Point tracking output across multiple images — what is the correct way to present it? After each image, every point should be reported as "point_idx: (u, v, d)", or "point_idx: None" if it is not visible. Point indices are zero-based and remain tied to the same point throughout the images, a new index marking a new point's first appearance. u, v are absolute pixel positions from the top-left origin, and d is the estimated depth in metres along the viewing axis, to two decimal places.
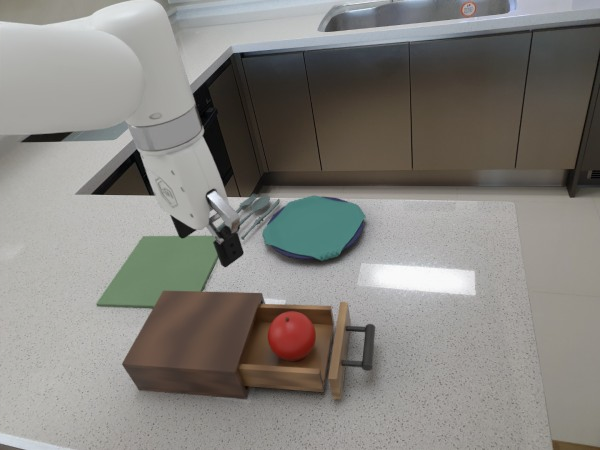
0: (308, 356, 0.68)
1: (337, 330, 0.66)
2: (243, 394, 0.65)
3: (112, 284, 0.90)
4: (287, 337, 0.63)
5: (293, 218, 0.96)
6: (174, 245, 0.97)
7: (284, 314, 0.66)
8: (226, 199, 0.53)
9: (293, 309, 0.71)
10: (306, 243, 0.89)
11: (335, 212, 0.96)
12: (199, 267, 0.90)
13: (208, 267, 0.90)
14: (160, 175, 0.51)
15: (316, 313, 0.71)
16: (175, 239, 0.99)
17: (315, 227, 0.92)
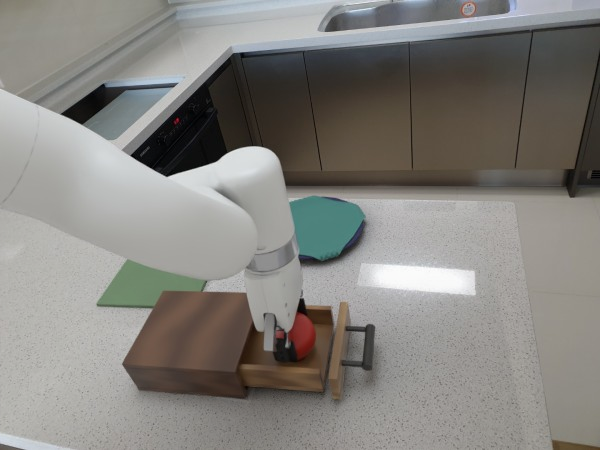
0: (308, 356, 0.68)
1: (337, 330, 0.66)
2: (243, 394, 0.65)
3: (112, 284, 0.90)
4: None
5: (293, 218, 0.96)
6: None
7: None
8: (285, 324, 0.57)
9: None
10: (306, 243, 0.89)
11: (335, 212, 0.96)
12: None
13: None
14: None
15: (316, 313, 0.71)
16: None
17: (315, 227, 0.92)
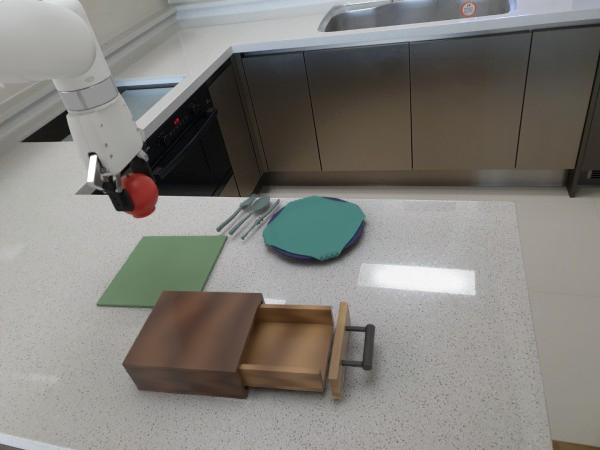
0: (308, 356, 0.68)
1: (337, 330, 0.66)
2: (243, 394, 0.65)
3: (112, 284, 0.90)
4: None
5: (293, 218, 0.96)
6: (174, 245, 0.97)
7: None
8: (108, 164, 0.67)
9: (293, 309, 0.71)
10: (306, 243, 0.89)
11: (335, 212, 0.96)
12: (199, 267, 0.90)
13: (208, 267, 0.90)
14: None
15: (316, 313, 0.71)
16: (175, 239, 0.99)
17: (315, 227, 0.92)
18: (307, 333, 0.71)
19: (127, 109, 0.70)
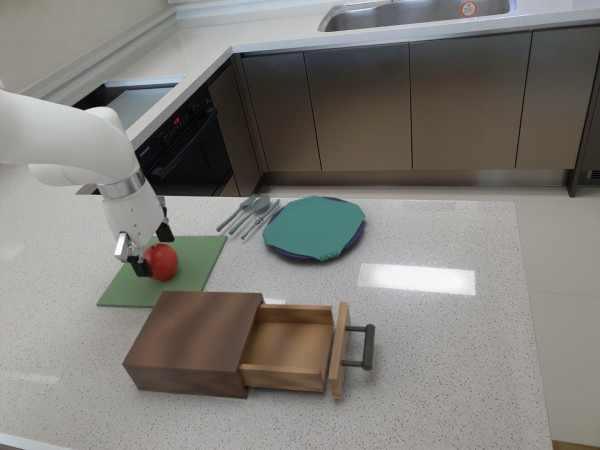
0: (308, 356, 0.68)
1: (337, 330, 0.66)
2: (243, 394, 0.65)
3: (112, 284, 0.90)
4: (151, 260, 0.84)
5: (293, 218, 0.96)
6: (174, 245, 0.97)
7: None
8: (136, 241, 0.78)
9: (293, 309, 0.71)
10: (306, 243, 0.89)
11: (335, 212, 0.96)
12: (199, 267, 0.90)
13: (208, 267, 0.90)
14: None
15: (316, 313, 0.71)
16: (175, 239, 0.99)
17: (315, 227, 0.92)
18: (307, 333, 0.71)
19: (151, 190, 0.82)
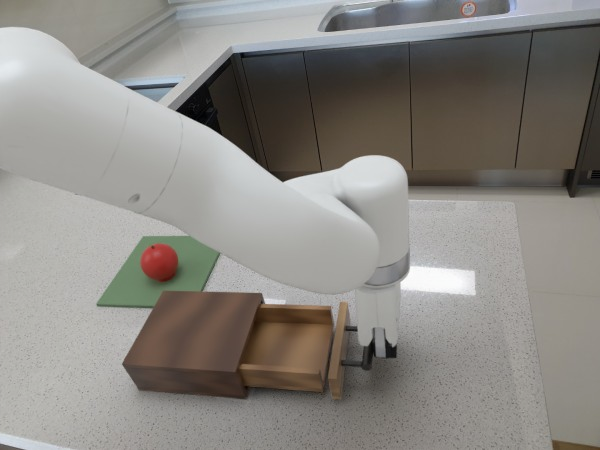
0: (308, 356, 0.68)
1: (337, 330, 0.66)
2: (243, 394, 0.65)
3: (112, 284, 0.90)
4: (151, 260, 0.84)
5: None
6: (174, 245, 0.97)
7: None
8: (393, 339, 0.55)
9: (293, 309, 0.71)
10: None
11: None
12: (199, 267, 0.90)
13: (208, 267, 0.90)
14: None
15: (316, 313, 0.71)
16: (175, 239, 0.99)
17: None
18: (307, 333, 0.71)
19: None
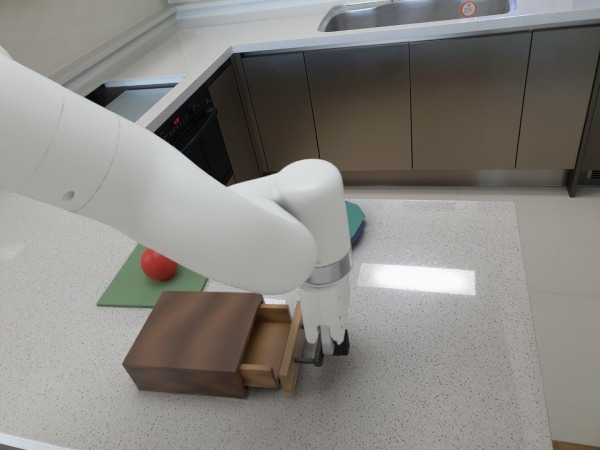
0: (264, 353, 0.69)
1: (291, 328, 0.68)
2: (243, 394, 0.65)
3: (112, 284, 0.90)
4: (151, 260, 0.84)
5: None
6: None
7: None
8: (338, 337, 0.57)
9: None
10: None
11: None
12: None
13: None
14: None
15: (274, 312, 0.72)
16: None
17: None
18: (265, 331, 0.73)
19: None
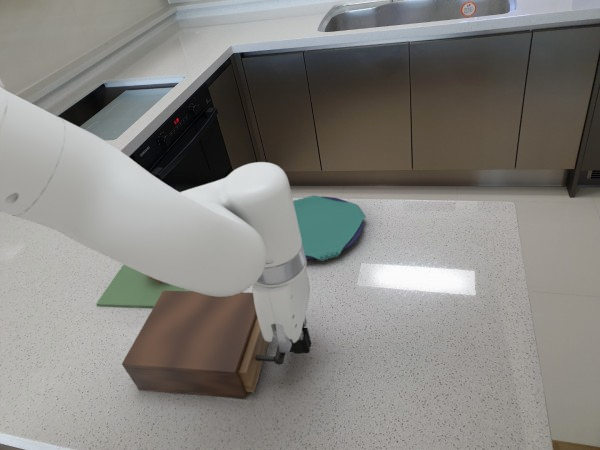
0: None
1: (255, 326, 0.69)
2: (243, 394, 0.65)
3: (112, 284, 0.90)
4: None
5: None
6: None
7: None
8: (292, 335, 0.58)
9: None
10: (306, 243, 0.89)
11: (335, 212, 0.96)
12: None
13: None
14: None
15: None
16: None
17: (315, 227, 0.92)
18: None
19: None
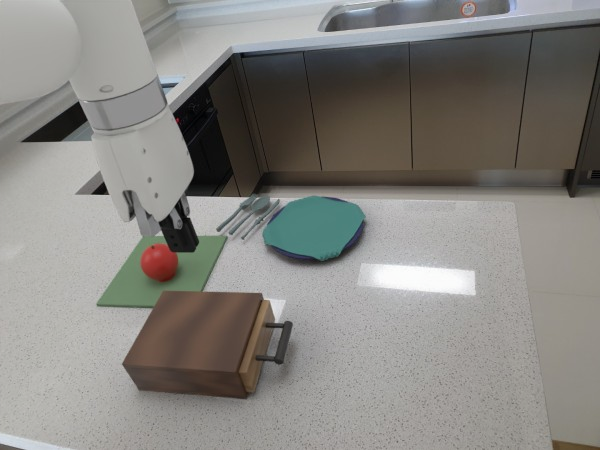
0: None
1: (255, 326, 0.69)
2: (243, 394, 0.65)
3: (112, 284, 0.90)
4: (151, 260, 0.84)
5: (293, 218, 0.96)
6: None
7: None
8: (152, 208, 0.45)
9: None
10: (306, 243, 0.89)
11: (335, 212, 0.96)
12: (199, 267, 0.90)
13: (208, 267, 0.90)
14: None
15: None
16: None
17: (315, 227, 0.92)
18: None
19: (175, 125, 0.49)
